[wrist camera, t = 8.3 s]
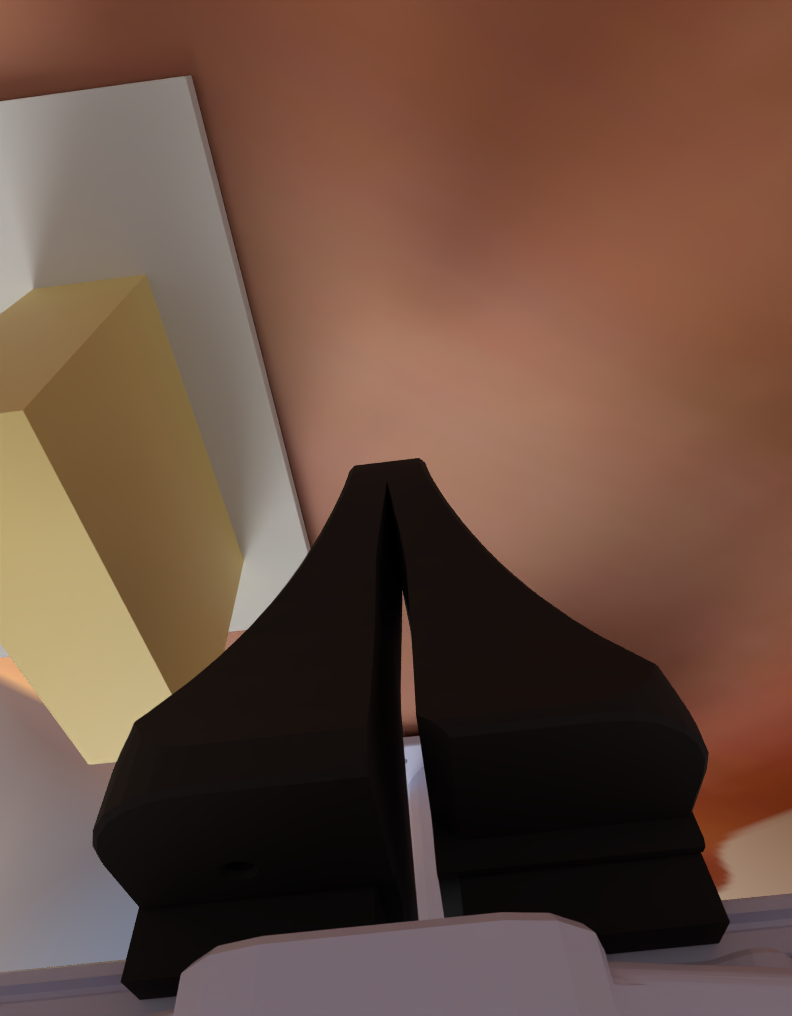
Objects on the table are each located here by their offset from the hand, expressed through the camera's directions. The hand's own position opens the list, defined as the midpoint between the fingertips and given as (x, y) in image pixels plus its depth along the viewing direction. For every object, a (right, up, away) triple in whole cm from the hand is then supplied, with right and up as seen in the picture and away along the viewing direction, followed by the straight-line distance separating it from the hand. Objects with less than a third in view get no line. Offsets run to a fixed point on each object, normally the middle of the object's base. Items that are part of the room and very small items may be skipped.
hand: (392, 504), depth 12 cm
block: (-6, +1, +3) cm, 7 cm away
